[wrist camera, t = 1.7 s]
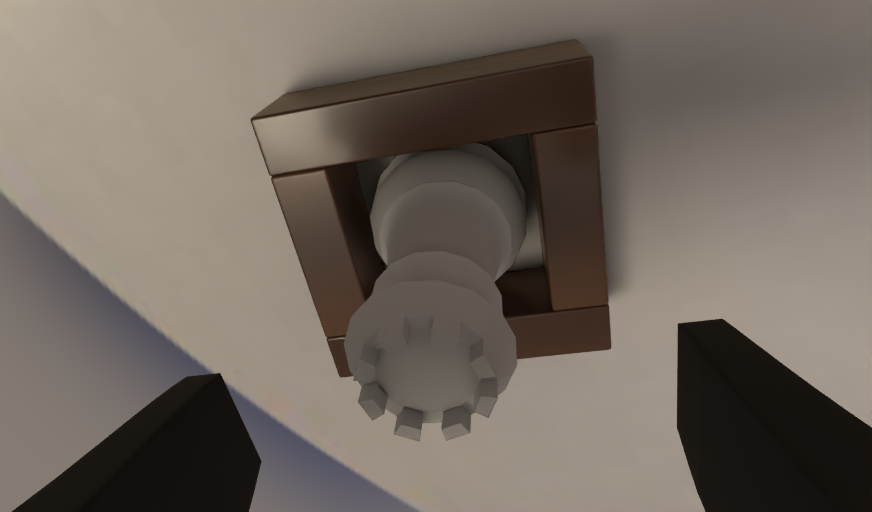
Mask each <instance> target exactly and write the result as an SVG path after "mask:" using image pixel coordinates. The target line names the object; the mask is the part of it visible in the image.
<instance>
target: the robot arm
mask: <svg viewBox="0 0 872 512" xmlns="http://www.w3.org/2000/svg"><path fill="white" fill-rule="evenodd" d="M677 429H678V432H679V435H680V439H681V442H682V445H683V448H684V452H685V455H686V458H687V462H688V465H689V468H690V471H691V474H692V477H693V480H694V483H695V486H696V489H697V492H698V495H699V497H700V499H701V502H702V504H703V506H704V509H705V511H706V512H872V427H870V426H869V425H867V424H866V423H864V422H863V421H861V420H860V419H858V418H857V417H855V416H854V415H853V414H851V413H850V412H848V411H847V410H845V409H844V408H843V407H841V406H840V405H838V404H837V403H835V402H834V401H833V400H831V399H830V398H828V397H827V396H826V395H824V394H823V393H821V392H820V391H819V390H817V389H816V388H814V387H813V386H812V385H810V384H809V383H808V382H806V381H805V380H803V379H802V378H801V377H799V376H798V375H797V374H795V373H794V372H793V371H791V370H790V369H789V368H787V367H786V366H785V365H783V364H782V363H781V362H779V361H778V360H777V359H775V358H774V357H773V356H771V355H770V354H769V353H767V352H766V351H765V350H763V349H762V348H761V347H759V346H758V345H757V344H755V343H754V342H753V341H751V340H750V339H749V338H747V337H746V336H745V335H743V334H742V333H741V332H740V331H738V330H737V329H736V328H734V327H733V326H732V325H730V324H729V323H727V322H726V321H725V320H723V319H716V320H707V321H698V322H688V323H679V324H678V369H677ZM260 464H261V459H260V457H259V455H258V453H257V451H256V449H255V447H254V444H253V442H252V440H251V438H250V436H249V434H248V432H247V429H246V427H245V425H244V423H243V421H242V419H241V417H240V414H239V412H238V410H237V408H236V406H235V404H234V402H233V399H232V397H231V395H230V393H229V391H228V389H227V387H226V384H225V382H224V380H223V378H222V376H221V374H220V373H217V374H208V375H198V376H190V377H186V378H184V379H183V380H181V381H180V382H178V383H177V384H175V385H174V386H172V387H171V388H170V389H168V390H167V391H166V392H164V393H163V394H161V395H160V396H159V397H157V398H156V399H155V400H154V401H152V402H151V403H150V404H148V405H147V406H146V407H145V408H143V409H142V410H141V411H140V412H138V413H137V414H136V415H134V416H133V417H132V418H131V419H130V420H128V421H127V422H126V423H124V424H123V425H122V426H121V427H119V428H118V429H117V430H116V431H115V432H113V433H112V434H111V435H109V436H108V437H107V438H106V439H105V440H103V441H102V442H101V443H100V444H99V445H97V446H96V447H95V448H93V449H92V450H91V451H89V452H88V453H87V454H86V455H84V456H83V457H82V458H81V459H80V460H78V461H77V462H76V463H74V464H73V465H72V466H71V467H69V468H68V469H67V470H66V471H64V472H63V473H62V474H61V475H59V476H58V477H57V478H56V479H54V480H53V481H52V482H50V483H49V484H48V485H46V486H45V487H44V488H42V489H41V490H40V491H38V492H37V493H36V494H35V495H33V496H32V497H30V498H29V499H28V500H27V501H25V502H24V503H23V504H21V505H20V506H19V507H17V508H16V509H15V510H13V511H12V512H249V509H250V505H251V501H252V497H253V494H254V490H255V486H256V482H257V477H258V473H259V469H260Z"/></svg>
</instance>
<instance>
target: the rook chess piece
mask: <svg viewBox="0 0 872 512" xmlns="http://www.w3.org/2000/svg"><path fill="white" fill-rule="evenodd" d="M370 220H371V226H372V231H373V237H374V243H375V248H376V250H377V251H378V253H379V255H380V256H381V258H382V259H383V261H384V262H385V264H386V265H387V269H386V270H385V271H384V272H383V273H382V274H381V275H380V276H379V278H378V279H377V280H376V282H375V285H374V289H373V292H372V295H371V296H370V297H369V298H368V299H367V300H366V301H365V303H364V304H363V305H362V306H361V307H360V308H359V309H358V310H357V311H356V312H355V313H354V314H353V316H352V317H351V319H350V323H349V326H348V330H347V334H346V337H345V341H344V347H345V352H346V356H347V360H348V365H349V369H350V371H351V373H352V374H353V375H354V381H358V382H359V383H360V385H361V386H362V389H361V393H360V397H359V400H358V403H359V404H360V405H361V406H362V408H363V409H364V410H365V412H366V413H367V414H368V416H369V417H370V418H371V420H372V421H373V420H374V419H376V418H378V417H379V416H381V415H383V414H384V412H385V409H387V410H388V411H390V412H391V413H393V414H395V415H396V416H397V420H396V426H395V431H394V434H395V435H398V436H402V437H406V438H409V439H413V440H417V441H420V435H421V427H422V423H442V432H443V434H444V437H445V439H446V441H447V440H450V439H453V438H456V437H459V436H462V435H465V434H468V433H470V425H471V414H473V413H475V412H476V413H478V414H481V415H483V416H485V417H487V418H489V416H490V414H491V412H492V409H493V407H494V405H495V403H496V401H497V399H498V395H499V394H500V393H502V392H503V391H504V390H505V389H506V387H507V385H508V383H509V381H510V378H511V376H512V374H513V372H514V370H515V368H516V366H517V355H516V337H515V335H514V333H513V332H512V330H511V328H510V326H509V325H508V323H507V321H506V319H505V318H504V316H503V312H502V295H501V294H500V292H499V290H498V288H497V287H496V285H495V281H496V280H497V279H498V278H499V277H500V276H501V275H502V274H503V273H504V272H506V271H507V270H508V269H509V268H510V267H511V266H512V265H513V263H514V261H515V259H516V257H517V254H518V252H519V250H520V247H521V245H522V242H523V240H524V238H525V235H526V193H525V191H524V189H523V187H522V185H521V183H520V181H519V179H518V177H517V175H516V173H515V171H514V169H513V167H512V166H511V165H510V164H509V163H508V162H506V161H505V160H504V159H503V158H502V157H500V156H499V155H498V154H497V153H496V152H495V151H493V150H492V149H491V148H490V147H488V146H485V145H482V144H479V143H470V144H464V145H458V146H451V147H445V148H439V149H433V150H427V151H421V152H415V153H409V154H403V155H397V156H396V157H395V158H394V160H393V161H392V162H391V163H390V164H389V166H388V167H387V168H386V169H385V171H384V172H383V173H382V174H381V175H380V178H379V182H378V185H377V189H376V193H375V197H374V201H373V206H372V210H371V214H370Z"/></svg>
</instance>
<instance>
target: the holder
mask: <svg viewBox="0 0 872 512" xmlns="http://www.w3.org/2000/svg"><path fill="white" fill-rule="evenodd" d="M596 121H597V109H596V93H595V77H594V61H593V57H592V55H591V54H590V53H589V52H588V51H587V50H586V49H585V48H584V47H583V46H582V45H581V44H580V43H579V42H578V41H577V40H570V41H564V42H559V43H554V44H549V45H543V46H538V47H533V48H527V49H522V50H517V51H512V52H506V53H501V54H496V55H490V56H485V57H480V58H474V59H469V60H464V61H459V62H453V63H448V64H443V65H437V66H432V67H427V68H422V69H416V70H411V71H406V72H400V73H395V74H390V75H384V76H379V77H374V78H369V79H363V80H358V81H353V82H347V83H342V84H337V85H331V86H326V87H321V88H316V89H310V90H305V91H300V92H294V93H289V94H284V95H282V96H281V97H279V98H278V99H277V100H275V101H274V102H273V103H271V104H270V105H269V106H267V107H266V108H264V109H263V110H262V111H260V112H259V113H258V114H256V115H255V116H254V117H252V118H251V123H252V126H253V129H254V132H255V135H256V138H257V140H258V143H259V146H260V149H261V152H262V155H263V158H264V161H265V163H266V166H267V169H268V172H269V175H270V176H272V177H271V180H272V183H273V186H274V189H275V192H276V195H277V198H278V200H279V203H280V206H281V209H282V212H283V215H284V218H285V221H286V224H287V226H288V229H289V232H290V235H291V238H292V241H293V244H294V247H295V249H296V252H297V255H298V258H299V261H300V264H301V267H302V270H303V272H304V275H305V278H306V281H307V284H308V287H309V290H310V293H311V296H312V298H313V301H314V304H315V307H316V310H317V313H318V316H319V319H320V321H321V324H322V327H323V330H324V333H325V336H326V337H327V342H328V345H329V348H330V351H331V353H332V356H333V359H334V362H335V365H336V368H337V371H338V374H339V376H340V377H350V376H354V375H353V374H352V373H351V371H350V369H349V365H348V360H347V356H346V352H345V347H344V341H345V337H346V334H347V330H348V326H349V323H350V319H351V317H352V316H353V314H354V313H355V312H356V311H357V310H358V309H359V308H360V307H361V306H362V305H363V304H364V303H365V301H366V300H367V299H368V298H369V297H370V296H371V295H372V292H373V289H374V285H375V282H376V280H377V279H378V278H379V276H380V275H381V274H382V273H383V269H382V265H381V261H380V258H379V254H378V251H377V250H376V248H375V243H374V237H373V232H372V228H371V225H370V221H369V217H368V213H367V210H366V206H365V202H364V199H363V195H362V191H361V188H360V184H359V180H358V177H357V173H356V169H355V166H354V163H355V162H361V161H367V160H373V159H379V158H385V157H391V156H397V155H403V154H409V153H415V152H421V151H427V150H433V149H439V148H445V147H451V146H458V145H464V144H470V143H476V142H482V141H488V140H494V139H500V138H506V137H512V136H518V135H524V134H528V137H529V145H530V153H531V161H532V170H533V178H534V186H535V195H536V203H537V211H538V219H539V228H540V236H541V244H542V252H543V261H544V268H539V269H531V270H524V271H516V272H508V273H503V274H502V275H501V276H500V277H499V278H498V279H497V280H496V281H495V285H496V287H497V288H498V290H499V292H500V294H501V295H502V312H503V316H504V318H505V319H506V321H507V323H508V325H509V326H510V328H511V330H512V332H513V333H514V335H515V337H516V355H517V359H523V358H533V357H542V356H552V355H561V354H571V353H581V352H590V351H600V350H609V349H611V332H610V316H609V305H608V285H607V270H606V254H605V238H604V222H603V206H602V190H601V174H600V158H599V142H598V127H597V124H596Z"/></svg>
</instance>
